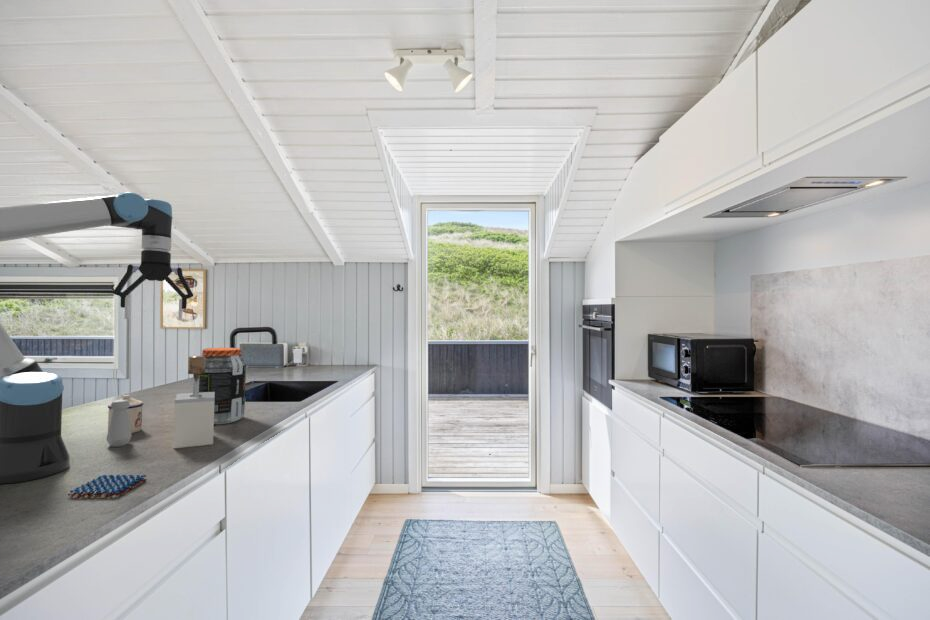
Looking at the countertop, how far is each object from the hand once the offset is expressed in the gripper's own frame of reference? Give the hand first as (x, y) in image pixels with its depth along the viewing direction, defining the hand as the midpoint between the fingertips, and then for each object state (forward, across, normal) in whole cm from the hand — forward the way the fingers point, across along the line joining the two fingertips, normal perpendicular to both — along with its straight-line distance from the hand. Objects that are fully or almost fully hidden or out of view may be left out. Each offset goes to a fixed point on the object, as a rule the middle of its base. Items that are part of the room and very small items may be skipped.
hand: (154, 319), depth 136 cm
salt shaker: (+37, -7, -5) cm, 38 cm away
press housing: (+37, +12, -10) cm, 40 cm away
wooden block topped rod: (+35, +12, -10) cm, 38 cm away
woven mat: (+38, -3, -42) cm, 56 cm away
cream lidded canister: (+37, -8, +12) cm, 40 cm away
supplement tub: (+37, +19, +15) cm, 44 cm away
